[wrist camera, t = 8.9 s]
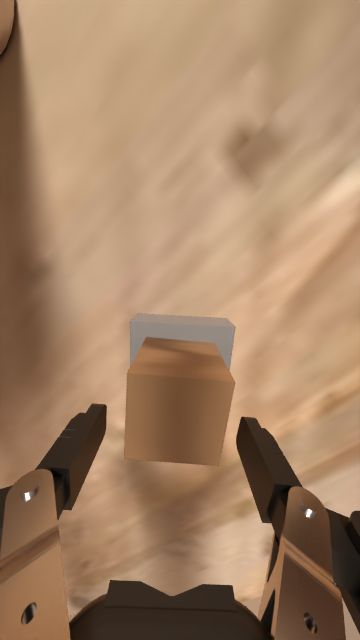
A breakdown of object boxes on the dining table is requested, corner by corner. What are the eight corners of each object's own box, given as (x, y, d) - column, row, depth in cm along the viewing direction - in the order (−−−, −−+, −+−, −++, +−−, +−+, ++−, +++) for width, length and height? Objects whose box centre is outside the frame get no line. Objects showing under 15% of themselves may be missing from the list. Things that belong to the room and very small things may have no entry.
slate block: (138, 389, 21) (130, 411, 18) (138, 312, 19) (129, 321, 15) (216, 392, 21) (223, 415, 18) (225, 317, 19) (235, 326, 16)
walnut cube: (142, 396, 17) (124, 458, 11) (146, 336, 16) (127, 372, 10) (205, 402, 17) (218, 465, 12) (214, 343, 16) (235, 382, 10)
